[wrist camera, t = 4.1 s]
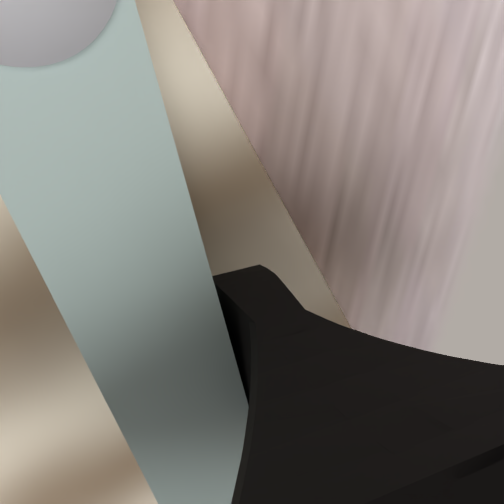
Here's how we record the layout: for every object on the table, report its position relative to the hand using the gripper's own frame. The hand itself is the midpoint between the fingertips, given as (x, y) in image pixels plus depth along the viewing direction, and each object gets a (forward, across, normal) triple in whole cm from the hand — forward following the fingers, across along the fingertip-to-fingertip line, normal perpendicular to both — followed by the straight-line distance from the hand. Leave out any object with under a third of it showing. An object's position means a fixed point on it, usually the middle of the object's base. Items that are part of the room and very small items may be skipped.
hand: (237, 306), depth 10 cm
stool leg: (+1, +2, -2) cm, 3 cm away
